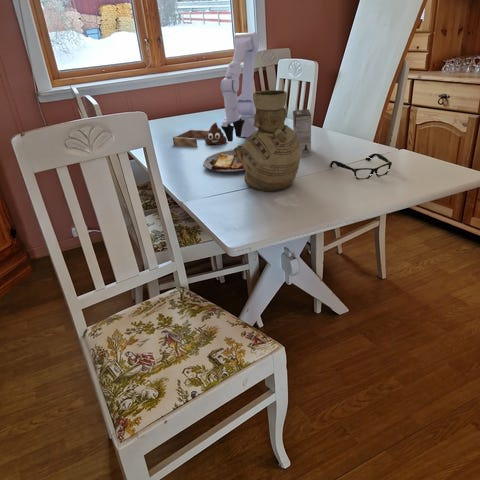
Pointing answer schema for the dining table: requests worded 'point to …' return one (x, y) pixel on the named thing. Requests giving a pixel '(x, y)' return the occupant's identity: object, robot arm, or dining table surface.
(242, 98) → the robot arm
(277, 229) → the dining table surface
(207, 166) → the food plate
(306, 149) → the coffee box
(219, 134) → the poop emoji
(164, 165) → the dining table surface
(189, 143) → the brown u-shaped block
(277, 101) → the ceramic vessel
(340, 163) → the glasses
